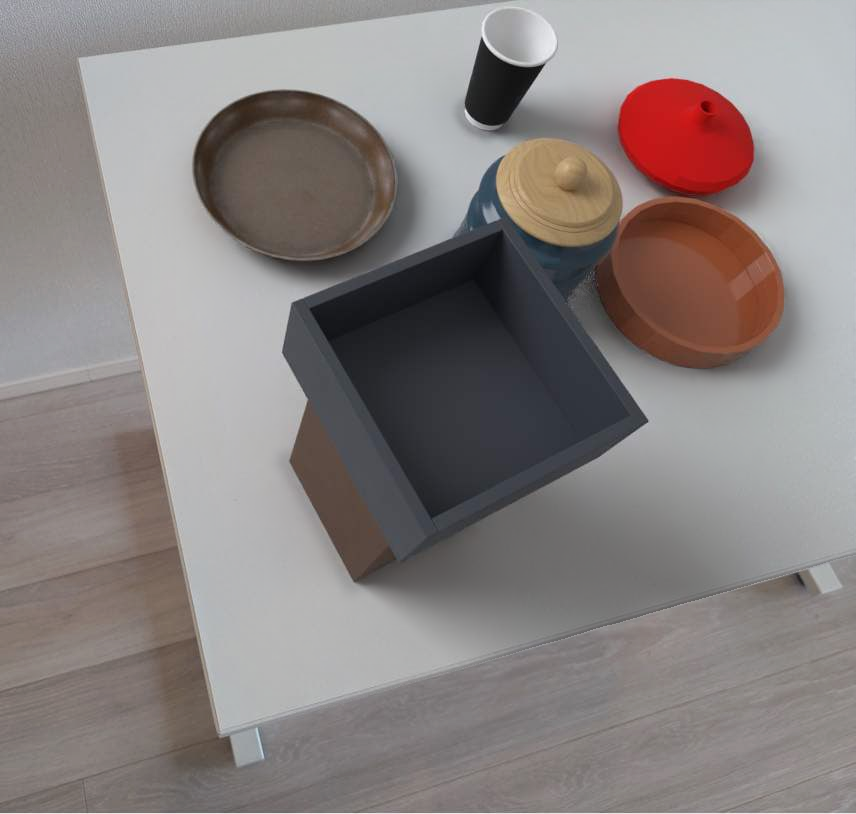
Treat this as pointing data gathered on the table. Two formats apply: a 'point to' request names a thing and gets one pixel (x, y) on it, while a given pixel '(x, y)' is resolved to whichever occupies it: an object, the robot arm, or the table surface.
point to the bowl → (690, 283)
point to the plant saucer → (294, 175)
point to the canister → (552, 206)
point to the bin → (444, 394)
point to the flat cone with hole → (685, 136)
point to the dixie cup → (507, 64)
